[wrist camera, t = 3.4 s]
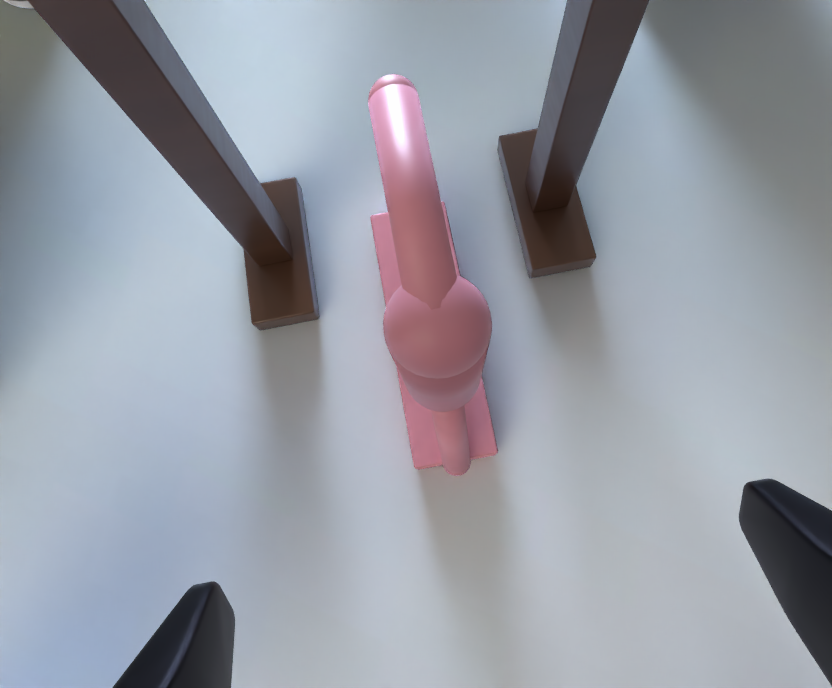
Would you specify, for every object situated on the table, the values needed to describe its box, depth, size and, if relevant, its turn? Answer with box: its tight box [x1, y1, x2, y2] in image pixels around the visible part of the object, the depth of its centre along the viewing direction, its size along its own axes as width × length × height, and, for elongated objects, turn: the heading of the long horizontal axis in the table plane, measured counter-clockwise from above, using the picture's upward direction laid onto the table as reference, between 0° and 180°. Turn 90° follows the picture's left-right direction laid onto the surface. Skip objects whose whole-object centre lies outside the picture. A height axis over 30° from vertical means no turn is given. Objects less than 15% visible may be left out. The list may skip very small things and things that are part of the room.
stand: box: [27, 0, 649, 330], centre depth 16 cm, size 6×14×15 cm, turn 100°
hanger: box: [368, 74, 498, 476], centre depth 16 cm, size 11×3×12 cm, turn 10°
